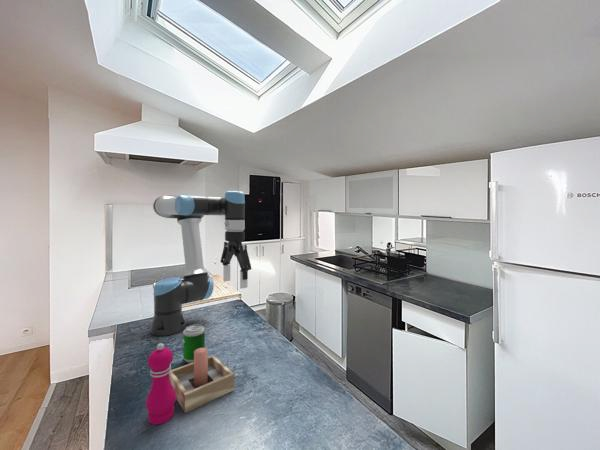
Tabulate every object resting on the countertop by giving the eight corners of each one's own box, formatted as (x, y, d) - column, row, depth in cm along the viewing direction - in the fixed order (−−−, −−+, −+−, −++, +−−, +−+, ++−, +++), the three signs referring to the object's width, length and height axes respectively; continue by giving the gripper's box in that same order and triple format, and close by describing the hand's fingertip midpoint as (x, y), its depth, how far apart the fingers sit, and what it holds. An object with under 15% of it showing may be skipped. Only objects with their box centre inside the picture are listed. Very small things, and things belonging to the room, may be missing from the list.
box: (168, 386, 86) (167, 371, 86) (213, 368, 96) (213, 355, 96) (185, 412, 75) (185, 395, 75) (234, 389, 85) (234, 374, 85)
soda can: (209, 355, 105) (208, 325, 105) (195, 366, 98) (195, 333, 98) (193, 352, 108) (192, 322, 107) (178, 362, 101) (178, 330, 100)
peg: (192, 387, 86) (191, 350, 85) (204, 382, 89) (204, 346, 88) (197, 394, 83) (197, 355, 83) (210, 388, 86) (209, 351, 85)
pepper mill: (153, 407, 77) (152, 337, 77) (179, 405, 78) (179, 337, 77) (140, 427, 70) (139, 350, 69) (170, 425, 71) (169, 349, 70)
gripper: (212, 229, 114) (212, 279, 115) (242, 233, 96) (242, 293, 97) (228, 228, 119) (228, 276, 120) (260, 232, 101) (260, 289, 102)
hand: (235, 284), depth 109 cm, fingers open, 13 cm apart
